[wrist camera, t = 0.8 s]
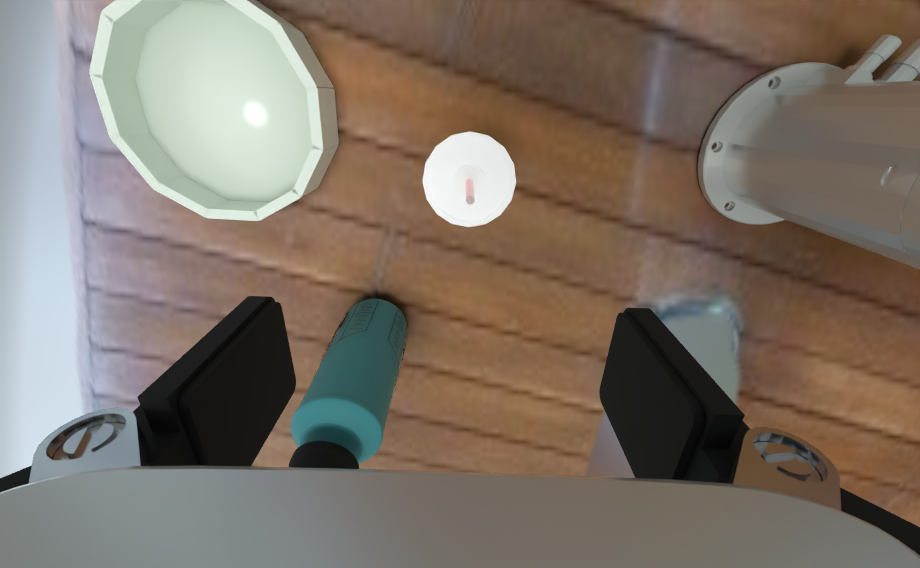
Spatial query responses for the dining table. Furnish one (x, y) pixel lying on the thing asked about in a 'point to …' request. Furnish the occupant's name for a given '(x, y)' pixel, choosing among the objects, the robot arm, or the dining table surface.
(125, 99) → the bowl
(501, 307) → the dining table surface
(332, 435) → the beverage bottle
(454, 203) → the beverage cup
